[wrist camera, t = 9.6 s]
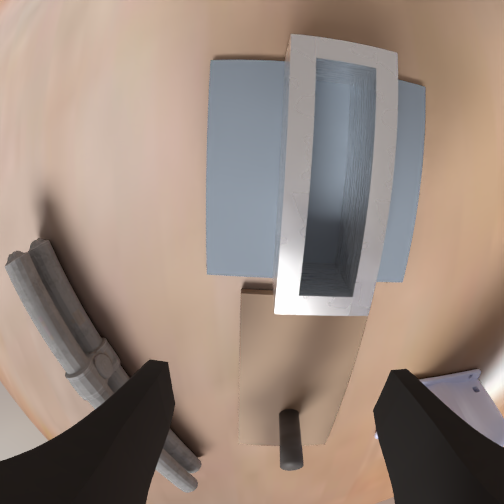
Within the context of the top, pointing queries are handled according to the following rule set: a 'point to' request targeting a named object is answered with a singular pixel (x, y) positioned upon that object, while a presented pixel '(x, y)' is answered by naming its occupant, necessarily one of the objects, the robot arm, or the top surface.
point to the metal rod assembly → (83, 345)
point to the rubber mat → (268, 166)
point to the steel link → (356, 176)
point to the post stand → (292, 375)
